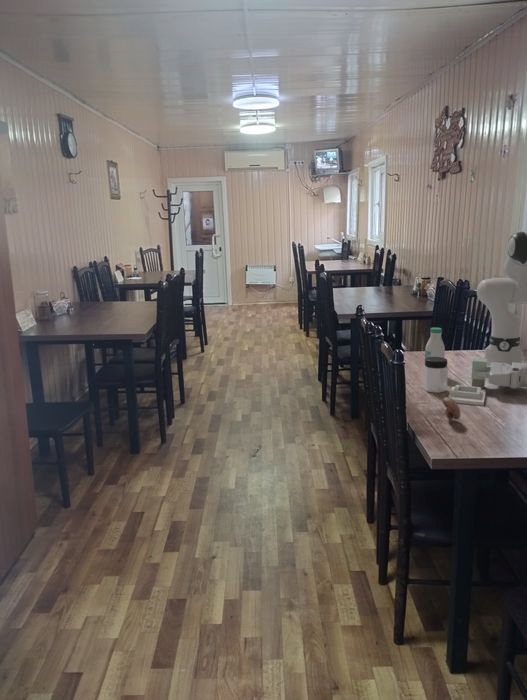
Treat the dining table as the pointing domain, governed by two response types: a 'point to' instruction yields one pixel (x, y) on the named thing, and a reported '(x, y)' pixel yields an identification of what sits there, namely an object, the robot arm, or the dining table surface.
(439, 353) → the milk bottle
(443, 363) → the jar
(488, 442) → the dining table surface
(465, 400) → the socket
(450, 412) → the mushroom
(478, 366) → the plug
